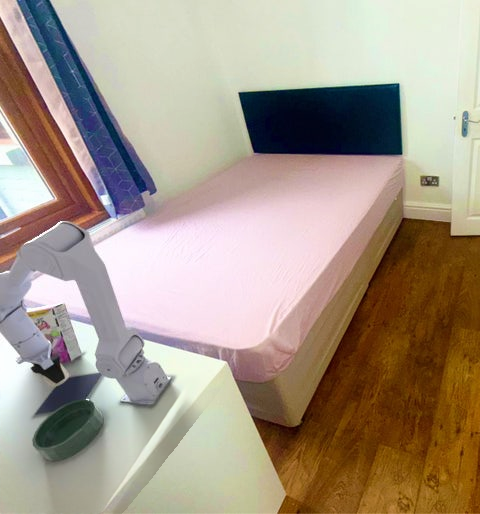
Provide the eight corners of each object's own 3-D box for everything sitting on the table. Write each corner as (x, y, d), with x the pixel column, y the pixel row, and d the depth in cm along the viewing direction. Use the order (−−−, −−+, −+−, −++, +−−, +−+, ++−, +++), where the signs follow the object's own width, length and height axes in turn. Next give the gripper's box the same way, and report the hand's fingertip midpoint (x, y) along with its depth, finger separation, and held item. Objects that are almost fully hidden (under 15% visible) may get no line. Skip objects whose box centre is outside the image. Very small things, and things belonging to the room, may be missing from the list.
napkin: (104, 373, 96) (103, 372, 96) (81, 408, 87) (80, 407, 87) (62, 379, 97) (61, 378, 97) (35, 415, 88) (34, 414, 87)
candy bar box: (33, 369, 101) (13, 314, 98) (46, 361, 106) (28, 308, 103) (71, 362, 100) (52, 307, 98) (83, 354, 105) (65, 301, 102)
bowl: (115, 413, 84) (106, 401, 81) (73, 466, 74) (61, 453, 71) (76, 408, 87) (66, 396, 85) (31, 458, 77) (18, 446, 75)
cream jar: (73, 373, 90) (62, 359, 88) (58, 387, 87) (47, 373, 84) (60, 372, 92) (49, 358, 89) (45, 386, 88) (33, 372, 86)
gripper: (-3, 336, 84) (31, 375, 91) (11, 359, 75) (48, 401, 82) (30, 318, 88) (61, 357, 95) (48, 337, 79) (80, 379, 86)
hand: (57, 376), depth 89 cm, fingers closed on cream jar, 4 cm apart
